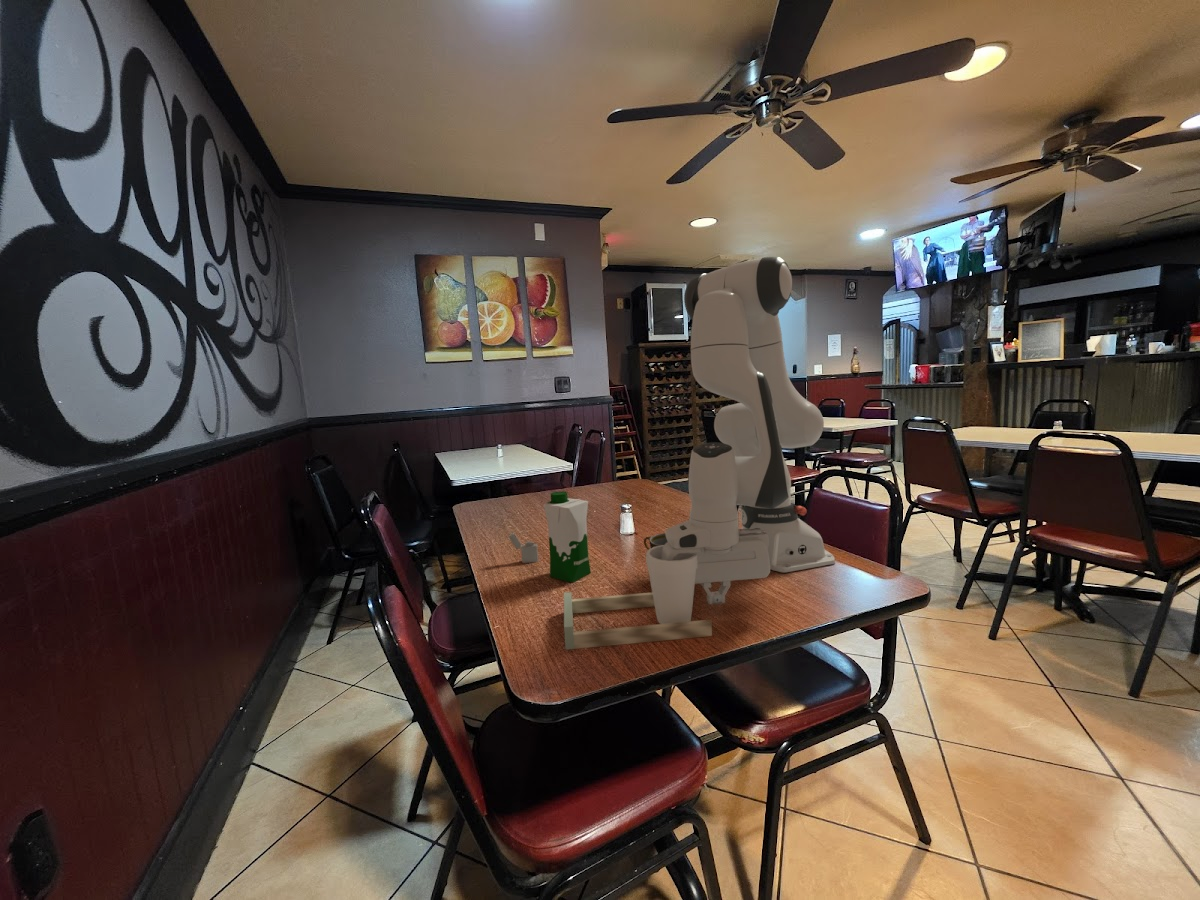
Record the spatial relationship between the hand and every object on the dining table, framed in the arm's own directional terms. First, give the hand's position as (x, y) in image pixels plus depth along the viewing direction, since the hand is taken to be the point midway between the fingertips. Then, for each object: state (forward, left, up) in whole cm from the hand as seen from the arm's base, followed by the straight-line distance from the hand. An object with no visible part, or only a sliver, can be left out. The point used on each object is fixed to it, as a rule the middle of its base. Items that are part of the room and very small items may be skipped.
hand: (715, 602), depth 87 cm
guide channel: (+15, 0, -3) cm, 15 cm away
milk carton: (+27, -26, -3) cm, 38 cm away
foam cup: (+8, 0, -3) cm, 9 cm away
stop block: (+28, 0, -3) cm, 28 cm away
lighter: (+39, -38, -3) cm, 55 cm away
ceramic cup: (+5, -18, -3) cm, 19 cm away
